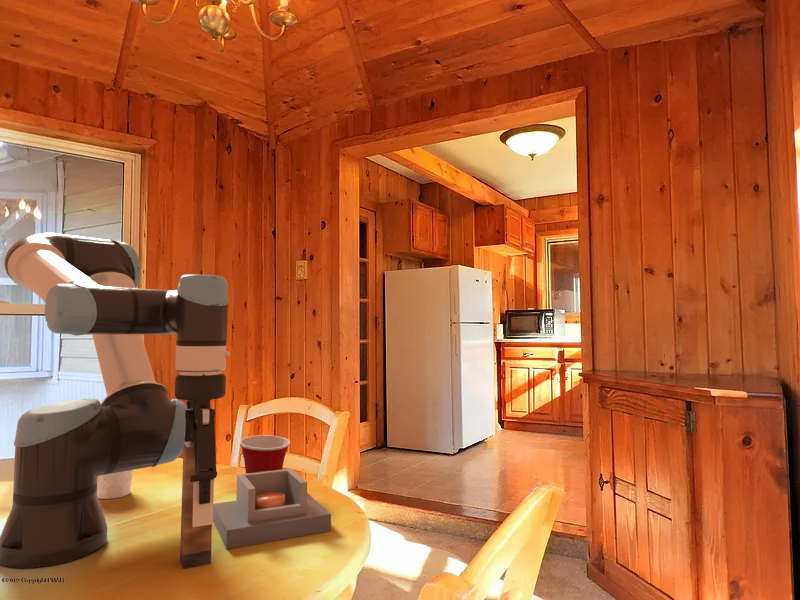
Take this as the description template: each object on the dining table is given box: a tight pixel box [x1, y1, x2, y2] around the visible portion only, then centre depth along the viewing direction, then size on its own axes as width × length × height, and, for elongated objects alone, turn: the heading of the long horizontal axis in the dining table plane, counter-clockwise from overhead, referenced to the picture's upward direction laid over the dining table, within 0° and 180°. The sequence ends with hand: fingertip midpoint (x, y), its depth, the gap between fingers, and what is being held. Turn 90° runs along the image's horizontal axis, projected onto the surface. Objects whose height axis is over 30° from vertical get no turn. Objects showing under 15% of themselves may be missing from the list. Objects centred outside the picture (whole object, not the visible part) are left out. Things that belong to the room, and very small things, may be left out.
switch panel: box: [213, 468, 332, 550], centre depth 99 cm, size 18×15×8 cm
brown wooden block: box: [179, 441, 213, 570], centre depth 84 cm, size 4×4×18 cm
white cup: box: [97, 470, 134, 500], centre depth 116 cm, size 8×8×10 cm
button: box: [256, 492, 285, 510], centre depth 99 cm, size 5×5×2 cm
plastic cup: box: [239, 434, 291, 474], centre depth 116 cm, size 11×11×12 cm
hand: (197, 511), depth 83 cm, fingers open, 12 cm apart
